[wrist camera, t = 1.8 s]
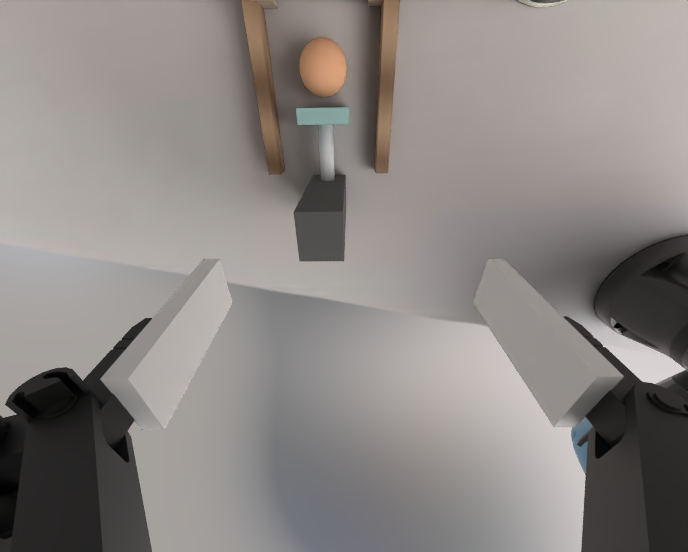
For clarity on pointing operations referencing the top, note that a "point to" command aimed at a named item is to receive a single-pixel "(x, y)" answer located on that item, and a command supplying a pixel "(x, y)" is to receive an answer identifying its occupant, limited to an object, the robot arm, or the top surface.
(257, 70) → the lane
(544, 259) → the top surface
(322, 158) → the striker
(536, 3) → the coffee can
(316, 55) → the brown egg
